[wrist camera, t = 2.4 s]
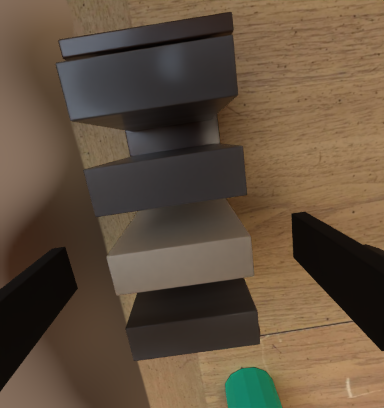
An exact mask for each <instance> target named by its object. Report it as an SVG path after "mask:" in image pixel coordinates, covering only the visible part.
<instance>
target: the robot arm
mask: <svg viewBox="0 0 384 408" xmlns="http://www.w3.org/2000/svg"><path fill="white" fill-rule="evenodd" d="M292 237H293V257H294V259H295V260H296V261H297V262H298V263H299V264H300V265H301V266H302V267H303V268H304V269H305V270H306V271H307V272H308V273H309V274H310V275H311V277H312V278H313V279H314V280H315V281H316V282H317V283H318V284H319V285H320V286H321V287H322V288H323V289H324V290H325V291H326V292H327V293H328V295H329V296H330V297H331V298H332V299H333V300H334V301H335V302H336V303H337V304H338V305H339V306H340V307H341V308H342V309H343V310H344V312H345V313H346V314H347V315H348V316H349V317H350V318H351V319H352V320H353V321H354V322H355V323H356V324H357V325H358V326H359V327H360V328H361V330H362V331H363V332H364V333H365V334H366V335H367V336H368V337H369V338H370V339H371V340H372V341H373V342H374V343H375V344H376V345H377V347H378V348H379V349H380V350H381V351H384V251H383V250H381V249H379V248H376V247H373V246H370V245H366V244H365V245H362V244H360V243H359V242H357V241H355V240H353V239H352V238H350V237H348V236H346V235H345V234H343V233H341V232H340V231H338V230H336V229H334V228H333V227H331V226H329V225H327V224H326V223H324V222H322V221H320V220H319V219H317V218H315V217H313V216H312V215H310V214H308V213H306V212H299V213H292ZM77 289H78V288H77V284H76V281H75V278H74V274H73V271H72V268H71V264H70V261H69V258H68V254H67V251H66V248H65V247H61V248H54V249H51V250H50V251H49V252H47V253H46V254H45V255H43V256H42V257H41V258H40V259H38V260H37V261H36V262H35V263H33V264H32V265H31V266H29V267H28V268H27V269H26V270H25V271H23V272H22V273H20V274H19V275H18V276H17V277H15V278H14V279H13V280H12V281H10V282H9V283H8V284H6V286H4V287H3V288H1V289H0V391H1V390H2V389H3V387H4V386H5V384H6V383H7V382H8V381H9V379H10V378H11V376H12V375H13V374H14V373H15V371H16V370H17V369H18V367H19V366H20V364H21V363H22V362H23V361H24V359H25V358H26V357H27V355H28V354H29V353H30V351H31V350H32V349H33V347H34V346H35V345H36V343H37V342H38V341H39V339H40V338H41V337H42V335H43V334H44V333H45V331H46V330H47V328H48V327H49V326H50V325H51V323H52V322H53V321H54V319H55V318H56V317H57V315H58V314H59V313H60V311H61V310H62V309H63V307H64V306H65V305H66V303H67V302H68V301H69V299H70V298H71V297H72V295H73V294H74V293H75V291H76V290H77Z"/></svg>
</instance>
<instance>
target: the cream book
mask: <svg viewBox="0 0 384 408" xmlns="http://www.w3.org/2000/svg"><path fill="white" fill-rule="evenodd" d="M107 261H108V264H109V269H110V272H111V276H112V280H113V284H114V287H115V291H116V295H124V294H131V293H139V292H146V291H153V290H160V289H167V288H174V287H181V286H188V285H195V284H203V283H210V282H217V281H224V280H231V279H238V278H245V277H252V276H254V266H253V254H252V243H251V236H250V234H249V233H248V231H247V230H246V228H245V227H244V225H243V224H242V222H241V221H240V219H239V218H238V216H237V215H236V213H235V212H234V210H233V209H232V207H231V206H230V204H229V203H228V201H227V200H226V198H223V199H216V200H209V201H202V202H196V203H189V204H182V205H175V206H168V207H162V208H155V209H148V210H141V211H138V212H137V214H136V215H135V217H134V218H133V220H132V221H131V222H130V224H129V225H128V227H127V228H126V230H125V231H124V232H123V234H122V235H121V237H120V238H119V240H118V241H117V242H116V244H115V245H114V247H113V248H112V250H111V251H110V253H109V254H108V255H107Z"/></svg>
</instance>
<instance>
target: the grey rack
mask: <svg viewBox="0 0 384 408" xmlns="http://www.w3.org/2000/svg"><path fill="white" fill-rule="evenodd" d="M233 30H234V29H233V17H232V12H227V13H221V14H215V15H208V16H202V17H196V18H190V19H184V20H177V21H171V22H165V23H159V24H153V25H146V26H140V27H134V28H128V29H122V30H115V31H109V32H103V33H97V34H91V35H84V36H78V37H72V38H66V39H60V40H59V41H58V42H59V46H60V50H61V53H62V57H63V59H65V60H66V61H64V62H58V63H56V68H57V71H58V75H59V79H60V83H61V87H62V91H63V94H64V98H65V102H66V106H67V110H68V113H69V117H70V120H71V121H73V122H79V123H85V124H91V125H97V126H102V127H108V128H114V129H120V130H125V133H126V138H127V143H128V147H129V152H130V157H128V158H124V159H120V160H117V161H113V162H109V163H106V164H102V165H99V166H95V167H91V168H88V169H84V170H83V171H84V175H85V178H86V182H87V186H88V190H89V194H90V197H91V201H92V205H93V209H94V212H95V216H96V217H100V216H107V215H114V214H121V213H128V212H134V211H141V210H148V209H155V208H162V207H168V206H175V205H182V204H189V203H196V202H202V201H209V200H216V199H223V198H230V197H237V196H243V195H247V187H246V175H245V164H244V153H243V146H239V145H228V144H220V137H219V128H218V119H217V114H218V113H219V112H220V111H221V110H222V109H223V108H224V107H225V106H226V105H227V104H229V103H230V102H231V101H232V100H233V99H234V98H235V97H236V96H237V95H238V86H237V75H236V64H235V53H234V41H233V35H232V33H233ZM226 200H227V199H226ZM126 333H127V336H128V340H129V344H130V348H131V352H132V355H133V359H134V361H139V360H146V359H154V358H161V357H168V356H176V355H183V354H191V353H198V352H205V351H213V350H220V349H228V348H235V347H242V346H250V345H257V344H260V327H259V324H258V312H257V309H256V306H255V304H254V302H253V299H252V297H251V294H250V292H249V289H248V287H247V285H246V282H245V280H244V278H238V279H231V280H224V281H217V282H210V283H203V284H195V285H188V286H181V287H174V288H167V289H160V290H153V291H146V292H139V293H137V295H136V298H135V301H134V304H133V308H132V311H131V314H130V317H129V320H128V323H127V326H126Z"/></svg>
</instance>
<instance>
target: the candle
mask: <svg viewBox="0 0 384 408" xmlns="http://www.w3.org/2000/svg"><path fill="white" fill-rule="evenodd" d="M225 389H226V398H227V404H228V408H282V405H281V402H280V400H279V397H278V394H277V391H276V388H275V386H274V383H273V380H272V378H271V377H270V376H269V375H268V373H267V372H266V371H263V370H261V369H258V368H255V367H253V368H242V369H240V370H238V371H236V372H235V373H233V374H231V375H230V377H229V378H228V380H227V382H226V383H225Z"/></svg>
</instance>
